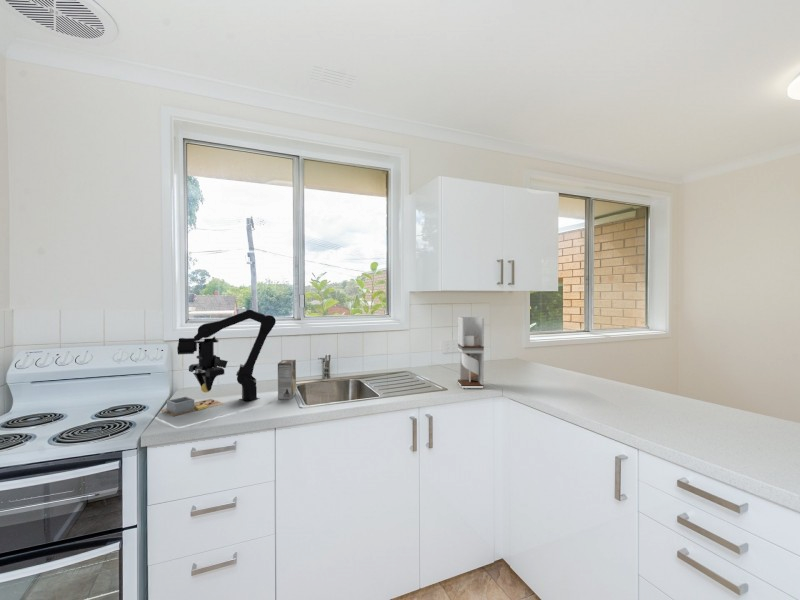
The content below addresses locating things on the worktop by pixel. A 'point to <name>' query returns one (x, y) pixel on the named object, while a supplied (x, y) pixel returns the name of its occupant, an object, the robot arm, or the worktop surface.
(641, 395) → the worktop surface
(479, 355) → the display case
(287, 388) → the coffee box
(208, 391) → the ball
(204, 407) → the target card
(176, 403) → the grey open box
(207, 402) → the rack board
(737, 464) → the worktop surface
